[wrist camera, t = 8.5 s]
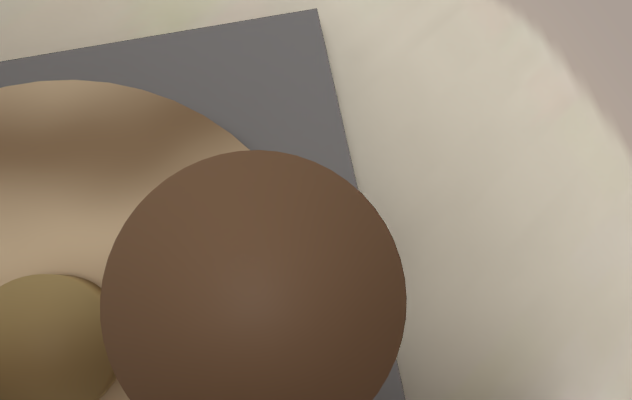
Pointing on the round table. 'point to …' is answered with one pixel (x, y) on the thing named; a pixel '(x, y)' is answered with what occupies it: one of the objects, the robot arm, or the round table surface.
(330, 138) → the dial board
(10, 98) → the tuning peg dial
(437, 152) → the round table surface
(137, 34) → the round table surface
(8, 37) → the round table surface
